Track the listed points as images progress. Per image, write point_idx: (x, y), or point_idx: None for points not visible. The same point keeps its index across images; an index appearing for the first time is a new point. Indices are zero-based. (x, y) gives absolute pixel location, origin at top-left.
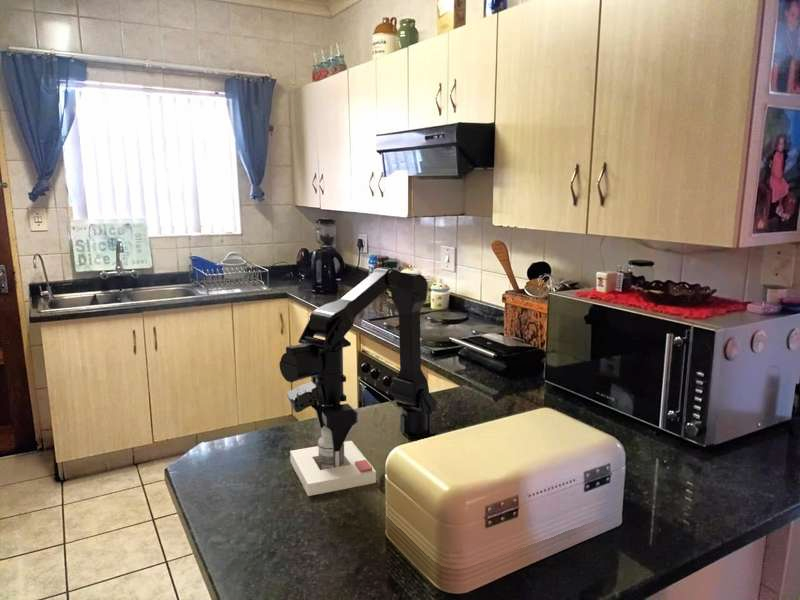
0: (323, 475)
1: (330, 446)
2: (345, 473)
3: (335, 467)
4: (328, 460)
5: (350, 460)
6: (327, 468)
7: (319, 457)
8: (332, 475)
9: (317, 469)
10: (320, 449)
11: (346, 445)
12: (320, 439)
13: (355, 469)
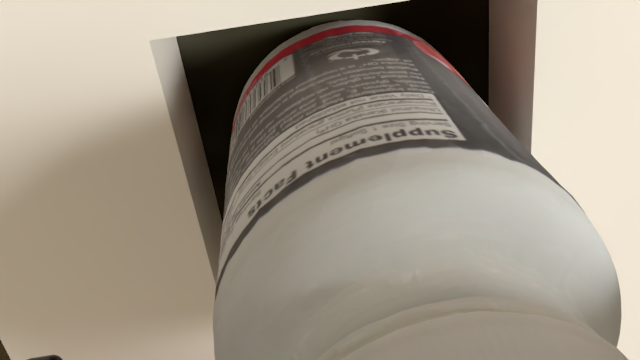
0: (2, 64)
1: (218, 322)
2: (44, 276)
3: (190, 204)
4: (231, 174)
5: None
6: (241, 119)
7: (348, 77)
8: (5, 158)
9: (171, 10)
10: (328, 144)
11: (631, 332)
12: (441, 226)
13: (121, 356)
